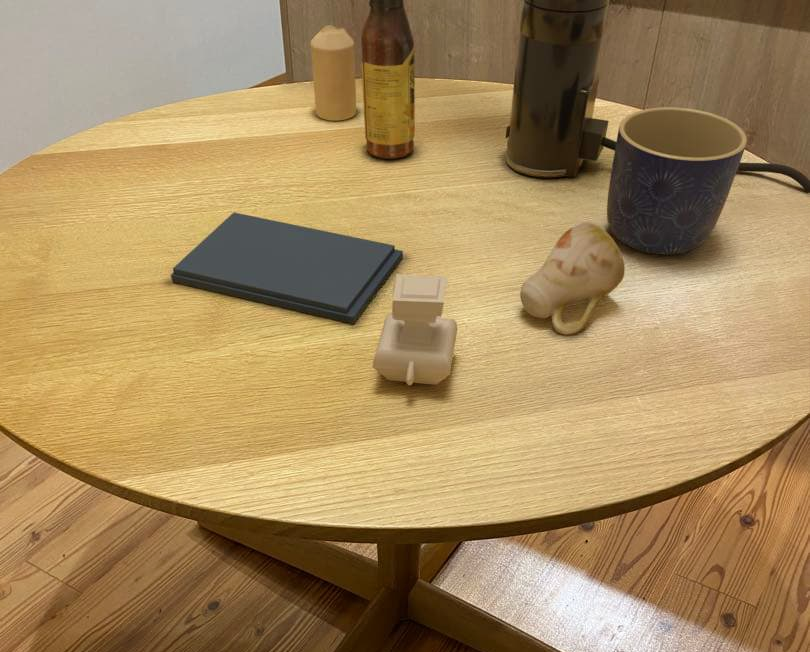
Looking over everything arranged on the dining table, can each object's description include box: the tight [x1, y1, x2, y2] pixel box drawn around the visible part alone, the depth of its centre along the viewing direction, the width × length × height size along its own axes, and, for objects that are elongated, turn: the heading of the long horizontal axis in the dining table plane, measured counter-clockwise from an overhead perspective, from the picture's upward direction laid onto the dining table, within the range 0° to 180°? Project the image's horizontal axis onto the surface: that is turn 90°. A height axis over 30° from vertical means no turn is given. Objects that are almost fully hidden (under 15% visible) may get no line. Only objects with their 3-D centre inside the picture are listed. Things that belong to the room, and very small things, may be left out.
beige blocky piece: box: [372, 273, 458, 386], centre depth 68 cm, size 9×7×8 cm
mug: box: [519, 221, 626, 335], centre depth 76 cm, size 8×10×10 cm
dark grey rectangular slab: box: [170, 212, 404, 325], centre depth 81 cm, size 20×13×1 cm, turn 69°
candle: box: [310, 24, 357, 122], centre depth 104 cm, size 6×6×10 cm
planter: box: [606, 106, 748, 255], centre depth 82 cm, size 12×12×11 cm
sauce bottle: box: [360, 0, 416, 160], centre depth 93 cm, size 6×6×20 cm
